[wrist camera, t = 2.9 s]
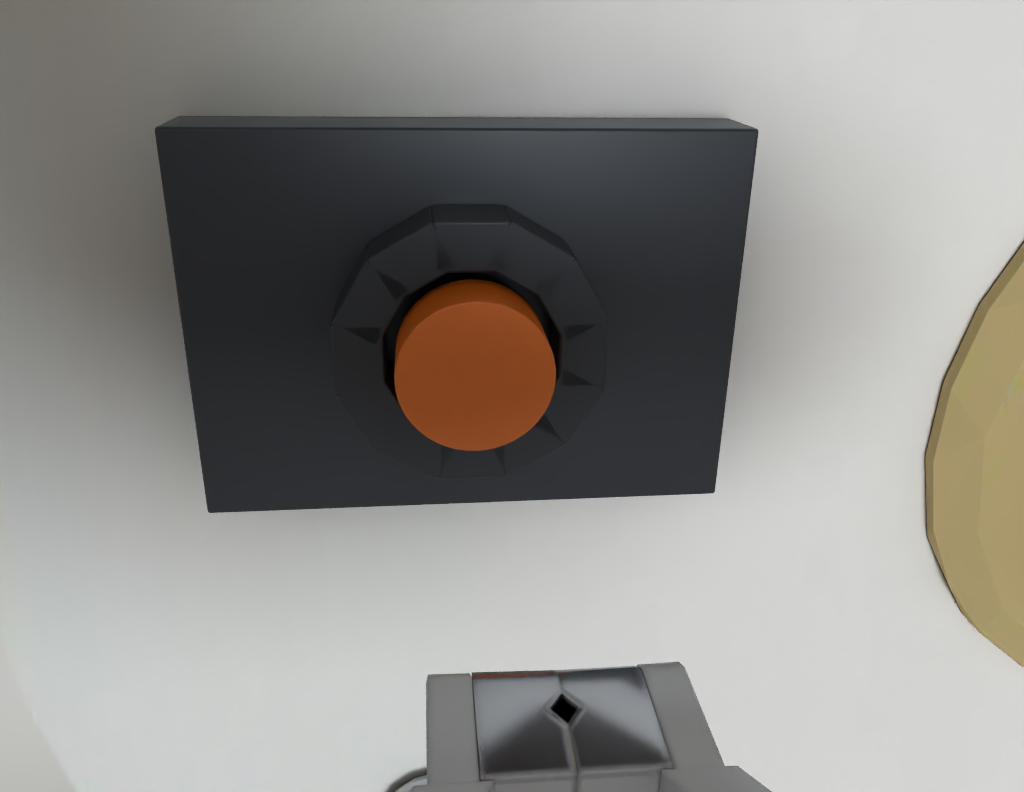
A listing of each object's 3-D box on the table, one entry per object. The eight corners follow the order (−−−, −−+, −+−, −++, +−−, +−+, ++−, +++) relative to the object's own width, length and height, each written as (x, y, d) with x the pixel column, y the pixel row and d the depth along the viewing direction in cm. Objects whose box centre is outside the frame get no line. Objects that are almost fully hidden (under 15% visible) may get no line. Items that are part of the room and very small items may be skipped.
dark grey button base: (223, 474, 26) (192, 551, 22) (176, 116, 22) (130, 138, 18) (692, 458, 27) (736, 527, 24) (729, 118, 23) (788, 139, 20)
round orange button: (398, 421, 22) (396, 454, 20) (393, 280, 21) (391, 302, 19) (543, 417, 22) (553, 449, 21) (547, 277, 21) (559, 300, 19)
